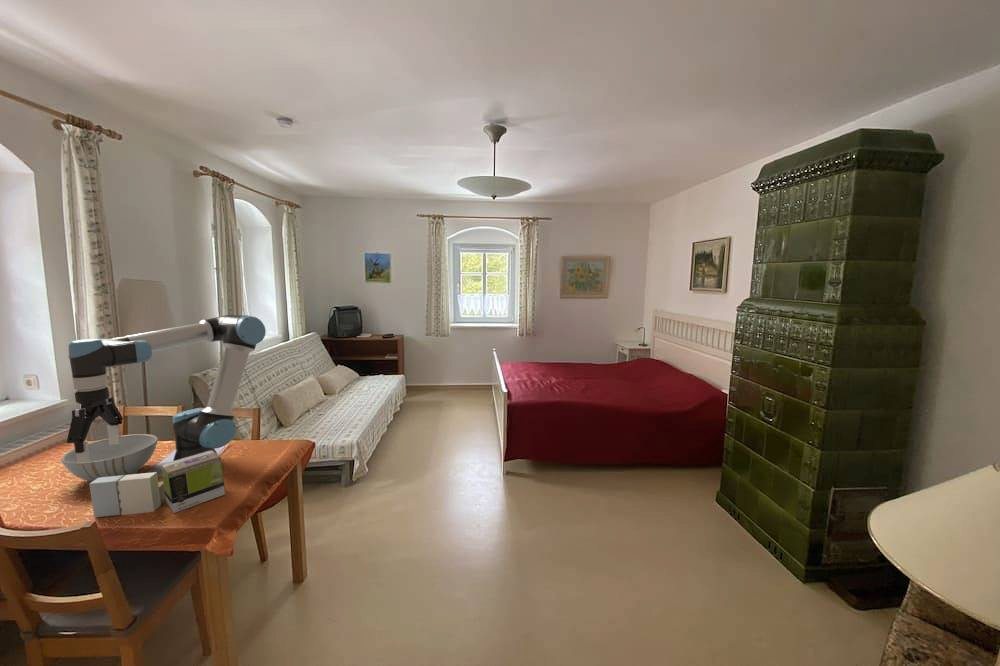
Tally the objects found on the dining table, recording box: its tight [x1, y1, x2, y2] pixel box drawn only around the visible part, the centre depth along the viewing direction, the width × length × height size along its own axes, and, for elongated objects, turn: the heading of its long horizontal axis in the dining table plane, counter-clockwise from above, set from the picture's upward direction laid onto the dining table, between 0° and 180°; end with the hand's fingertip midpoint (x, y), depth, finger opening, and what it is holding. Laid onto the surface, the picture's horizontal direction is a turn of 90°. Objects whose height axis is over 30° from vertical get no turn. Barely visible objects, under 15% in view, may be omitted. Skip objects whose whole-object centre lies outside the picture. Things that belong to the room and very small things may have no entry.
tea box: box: [160, 450, 226, 514], centre depth 139 cm, size 15×10×15 cm, turn 141°
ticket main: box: [117, 471, 166, 516], centre depth 135 cm, size 9×9×12 cm
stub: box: [89, 475, 124, 519], centre depth 131 cm, size 4×7×12 cm, turn 104°
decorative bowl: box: [60, 433, 159, 482], centre depth 155 cm, size 27×27×12 cm
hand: (100, 452), depth 128 cm, fingers open, 13 cm apart
